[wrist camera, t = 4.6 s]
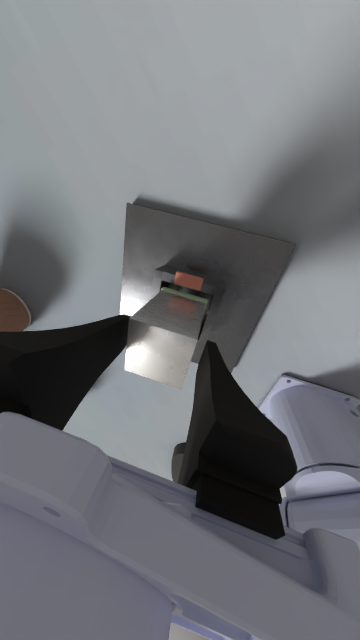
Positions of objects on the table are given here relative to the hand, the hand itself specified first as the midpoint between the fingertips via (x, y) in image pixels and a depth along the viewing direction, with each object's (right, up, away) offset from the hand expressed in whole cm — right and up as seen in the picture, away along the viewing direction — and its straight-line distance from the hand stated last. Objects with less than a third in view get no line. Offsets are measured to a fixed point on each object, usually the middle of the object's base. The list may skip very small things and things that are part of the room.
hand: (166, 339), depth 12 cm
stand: (+2, +4, +8) cm, 9 cm away
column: (+1, +2, +4) cm, 5 cm away
